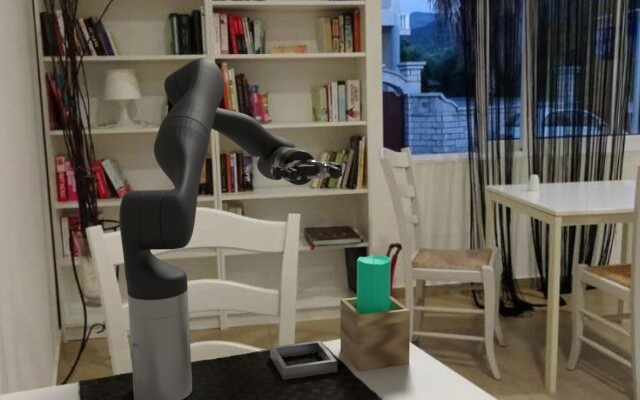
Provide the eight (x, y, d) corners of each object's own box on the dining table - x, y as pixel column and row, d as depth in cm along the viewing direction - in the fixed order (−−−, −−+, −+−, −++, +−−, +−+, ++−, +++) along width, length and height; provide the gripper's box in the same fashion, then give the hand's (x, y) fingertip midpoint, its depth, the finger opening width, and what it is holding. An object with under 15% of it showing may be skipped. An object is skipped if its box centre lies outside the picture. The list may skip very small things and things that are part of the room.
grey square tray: (283, 379, 106) (283, 368, 106) (270, 357, 115) (270, 347, 115) (337, 371, 109) (337, 360, 109) (320, 350, 118) (320, 340, 118)
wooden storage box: (359, 371, 109) (359, 316, 108) (340, 350, 118) (340, 299, 117) (409, 363, 112) (410, 310, 111) (387, 343, 121) (387, 293, 120)
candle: (389, 309, 117) (390, 246, 115) (390, 321, 111) (391, 255, 109) (357, 308, 117) (357, 246, 115) (356, 320, 111) (356, 254, 109)
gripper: (262, 149, 136) (280, 157, 120) (325, 147, 140) (350, 154, 125) (263, 184, 137) (281, 195, 122) (325, 181, 141) (350, 191, 126)
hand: (316, 174), depth 123 cm, fingers open, 8 cm apart
